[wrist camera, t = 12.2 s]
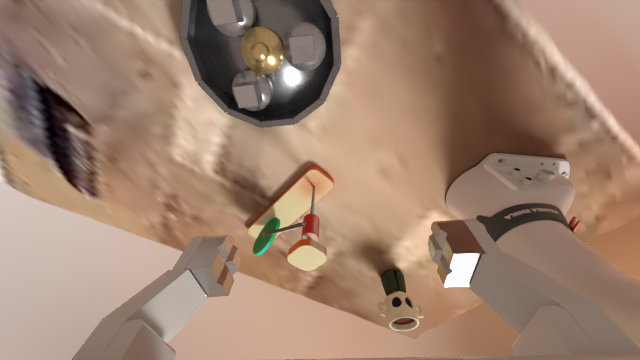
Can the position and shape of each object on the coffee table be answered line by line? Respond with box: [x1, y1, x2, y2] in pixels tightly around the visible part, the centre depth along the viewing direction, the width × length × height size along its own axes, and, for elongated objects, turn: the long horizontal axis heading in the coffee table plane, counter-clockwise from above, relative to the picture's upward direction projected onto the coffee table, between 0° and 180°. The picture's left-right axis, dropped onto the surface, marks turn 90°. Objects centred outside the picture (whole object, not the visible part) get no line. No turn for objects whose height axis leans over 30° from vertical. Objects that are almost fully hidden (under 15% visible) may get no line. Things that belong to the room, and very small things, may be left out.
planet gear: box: [283, 22, 326, 71], centre depth 33 cm, size 6×6×5 cm
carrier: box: [179, 0, 341, 128], centre depth 34 cm, size 22×22×6 cm
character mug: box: [378, 271, 424, 331], centre depth 61 cm, size 11×7×13 cm, turn 87°
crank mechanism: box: [248, 166, 334, 271], centre depth 46 cm, size 25×7×19 cm, turn 138°
